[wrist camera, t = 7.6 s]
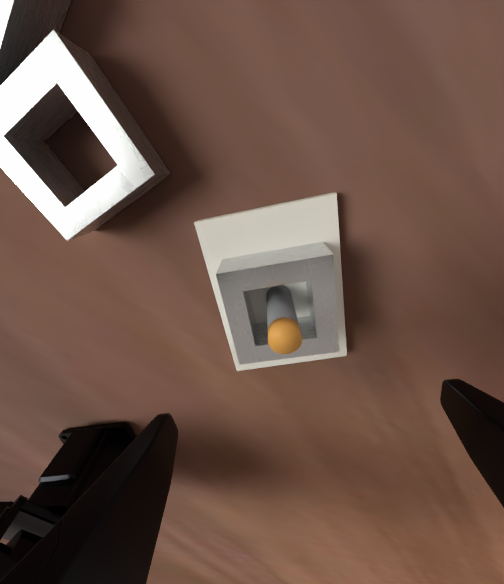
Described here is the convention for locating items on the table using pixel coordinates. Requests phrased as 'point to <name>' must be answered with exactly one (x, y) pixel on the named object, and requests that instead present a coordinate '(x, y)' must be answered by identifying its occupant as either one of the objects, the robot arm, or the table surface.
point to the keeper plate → (266, 237)
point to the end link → (273, 272)
